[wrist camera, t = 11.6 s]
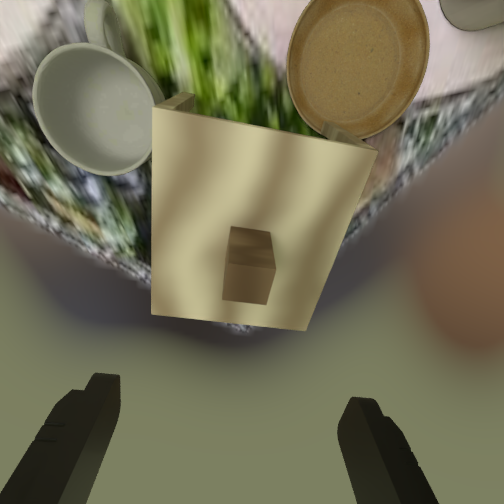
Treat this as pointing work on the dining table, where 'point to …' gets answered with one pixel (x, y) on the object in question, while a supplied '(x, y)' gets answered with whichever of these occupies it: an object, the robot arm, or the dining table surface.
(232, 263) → the small wooden table
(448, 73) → the dining table surface
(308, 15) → the plant saucer
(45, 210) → the dining table surface
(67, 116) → the teacup
